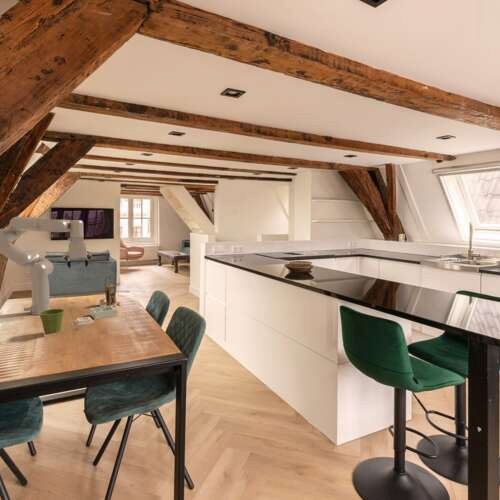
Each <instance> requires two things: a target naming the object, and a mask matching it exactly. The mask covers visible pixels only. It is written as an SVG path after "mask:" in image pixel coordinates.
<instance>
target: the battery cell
mask: <svg viewBox="0 0 500 500" xmlns="http://www.w3.org/2000/svg"><path fill="white" fill-rule="evenodd" d="M99 307H100V311H107V307H106V298H102V299H100V300H99Z"/></svg>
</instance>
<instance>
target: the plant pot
mask: <svg viewBox="0 0 500 500" xmlns="http://www.w3.org/2000/svg"><path fill="white" fill-rule="evenodd" d="M65 312H66V311H65V309H63V308H51V309H49V310H44V311H41V312H39V313H38V314H39V317H40V319H41V323H42V328H43V331H44V335H46V336H48V334H56V333H59V332H61V331H62V325H63V317H64V313H65Z"/></svg>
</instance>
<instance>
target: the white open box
mask: <svg viewBox="0 0 500 500" xmlns="http://www.w3.org/2000/svg"><path fill="white" fill-rule="evenodd" d="M112 306H113V305H110V306H109V305H107V306H106V307H107V311H100V306H97V307H90V308H89V312H90V316H91V317H92V318H93V319H94V320H100V319H108V318H114V317H117V309H116V308H115V307H112Z"/></svg>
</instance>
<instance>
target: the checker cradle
mask: <svg viewBox="0 0 500 500" xmlns="http://www.w3.org/2000/svg"><path fill="white" fill-rule="evenodd" d="M73 322H74V323H75V325H77V326H79V325H85V324H93V323H95V321H94V320H93V319H92V318H91V317H90V316H85V317H78V318H76V320H74V321H73Z"/></svg>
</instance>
